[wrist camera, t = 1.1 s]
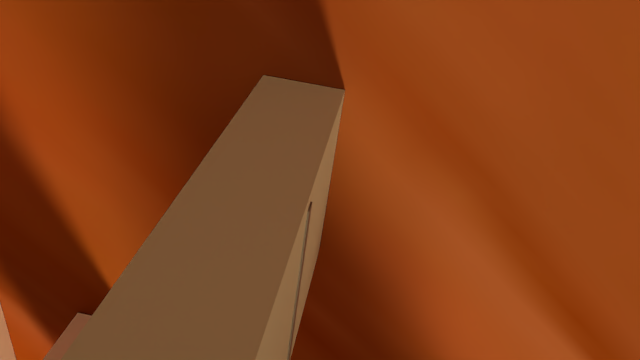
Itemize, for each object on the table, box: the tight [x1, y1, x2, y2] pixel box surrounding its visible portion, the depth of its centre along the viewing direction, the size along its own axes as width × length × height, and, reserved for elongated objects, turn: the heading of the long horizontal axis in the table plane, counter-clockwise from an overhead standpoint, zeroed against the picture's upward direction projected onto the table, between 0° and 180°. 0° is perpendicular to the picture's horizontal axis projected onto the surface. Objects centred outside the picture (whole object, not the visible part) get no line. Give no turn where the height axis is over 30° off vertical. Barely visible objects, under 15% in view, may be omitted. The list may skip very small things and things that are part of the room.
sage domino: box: [61, 75, 345, 360], centre depth 10 cm, size 2×5×9 cm, turn 174°
